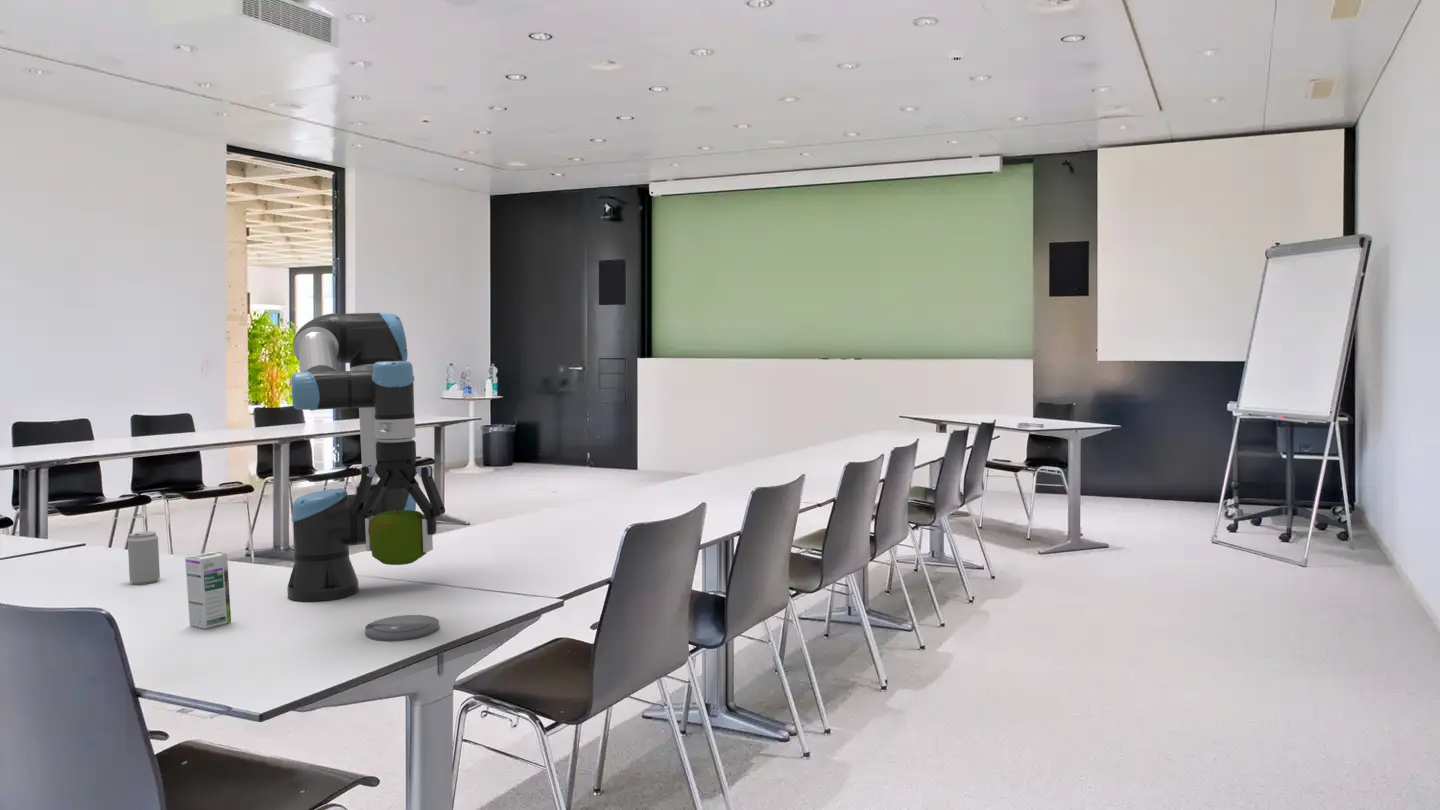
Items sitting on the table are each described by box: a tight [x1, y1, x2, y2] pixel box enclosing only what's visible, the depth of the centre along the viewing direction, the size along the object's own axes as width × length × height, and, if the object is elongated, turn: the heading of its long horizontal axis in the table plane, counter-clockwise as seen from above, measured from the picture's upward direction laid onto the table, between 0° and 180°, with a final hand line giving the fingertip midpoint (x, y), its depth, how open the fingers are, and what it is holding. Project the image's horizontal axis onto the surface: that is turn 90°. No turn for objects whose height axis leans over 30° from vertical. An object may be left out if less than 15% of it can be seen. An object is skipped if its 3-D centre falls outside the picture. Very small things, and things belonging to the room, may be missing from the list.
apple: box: [368, 508, 427, 566], centre depth 203 cm, size 11×11×11 cm
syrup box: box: [184, 550, 232, 630], centre depth 211 cm, size 6×6×14 cm
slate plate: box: [364, 614, 440, 642], centre depth 204 cm, size 14×14×2 cm
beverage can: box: [127, 530, 161, 586], centre depth 249 cm, size 6×6×12 cm
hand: (399, 550), depth 203 cm, fingers closed on apple, 11 cm apart
